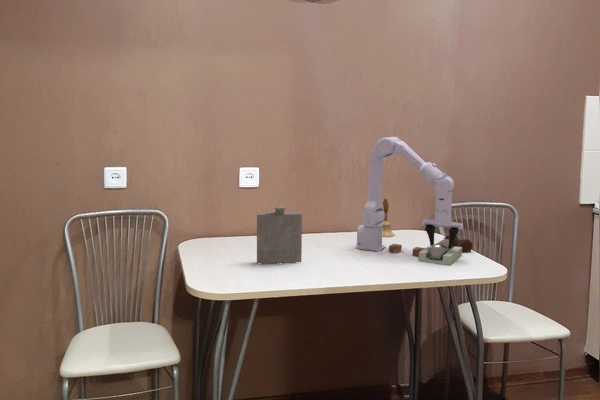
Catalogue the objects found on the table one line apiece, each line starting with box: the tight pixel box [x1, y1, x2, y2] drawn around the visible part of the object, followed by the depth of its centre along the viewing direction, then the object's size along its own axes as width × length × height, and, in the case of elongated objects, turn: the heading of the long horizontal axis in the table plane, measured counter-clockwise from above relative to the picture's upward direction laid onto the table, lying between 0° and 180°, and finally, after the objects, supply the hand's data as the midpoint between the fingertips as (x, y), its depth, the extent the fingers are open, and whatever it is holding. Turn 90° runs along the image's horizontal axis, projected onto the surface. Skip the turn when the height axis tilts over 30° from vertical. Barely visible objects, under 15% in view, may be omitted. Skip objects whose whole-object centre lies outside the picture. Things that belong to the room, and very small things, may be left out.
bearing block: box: [388, 243, 426, 257], centre depth 216 cm, size 13×4×2 cm, turn 60°
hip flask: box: [256, 205, 303, 265], centre depth 200 cm, size 16×4×20 cm, turn 101°
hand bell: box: [382, 198, 395, 238], centre depth 246 cm, size 8×8×16 cm
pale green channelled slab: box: [418, 243, 463, 266], centre depth 210 cm, size 11×16×3 cm
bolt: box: [443, 235, 474, 254], centre depth 226 cm, size 6×5×15 cm
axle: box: [428, 238, 454, 260], centre depth 209 cm, size 14×5×5 cm, turn 150°
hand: (441, 246), depth 209 cm, fingers open, 6 cm apart
